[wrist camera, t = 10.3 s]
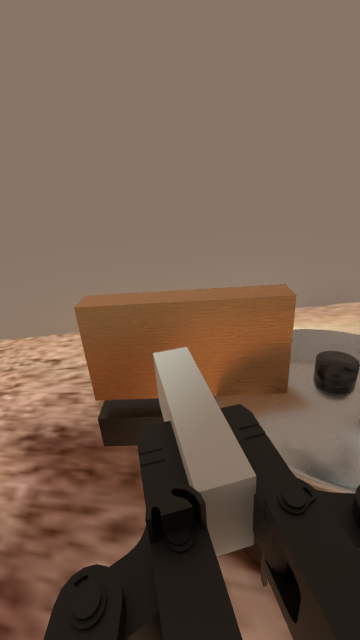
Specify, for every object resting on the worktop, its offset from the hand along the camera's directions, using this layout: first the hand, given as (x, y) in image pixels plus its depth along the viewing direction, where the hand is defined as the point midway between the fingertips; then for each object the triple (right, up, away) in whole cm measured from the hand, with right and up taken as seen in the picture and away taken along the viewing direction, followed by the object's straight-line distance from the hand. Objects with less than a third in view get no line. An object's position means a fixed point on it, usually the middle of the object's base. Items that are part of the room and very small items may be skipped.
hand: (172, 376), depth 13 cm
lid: (+8, -4, +11) cm, 14 cm away
